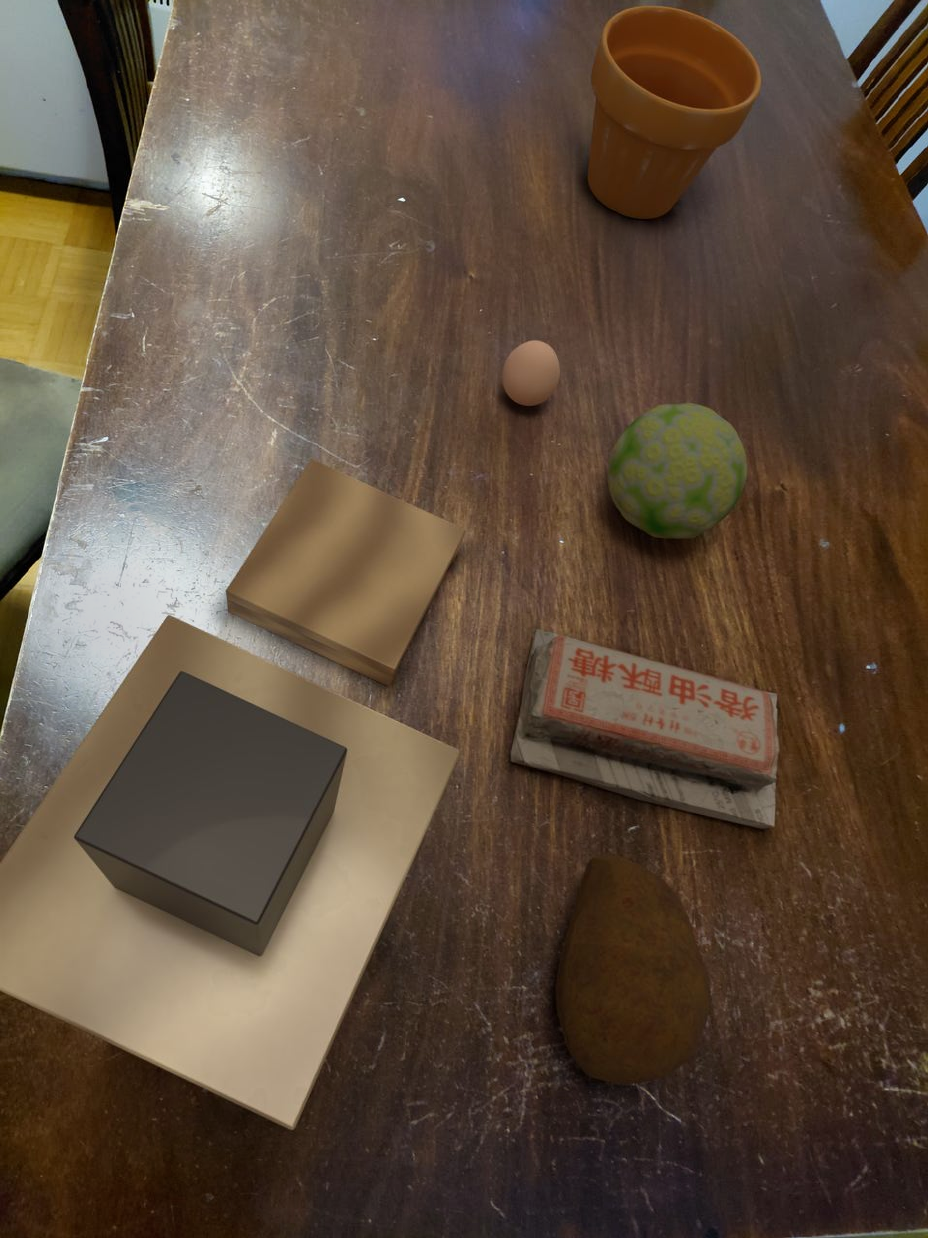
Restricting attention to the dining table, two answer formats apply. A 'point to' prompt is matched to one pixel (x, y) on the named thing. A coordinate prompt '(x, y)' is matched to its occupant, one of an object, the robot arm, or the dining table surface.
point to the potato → (630, 976)
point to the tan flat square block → (345, 571)
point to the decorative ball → (677, 470)
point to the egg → (531, 373)
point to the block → (215, 812)
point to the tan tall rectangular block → (189, 956)
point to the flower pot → (663, 105)
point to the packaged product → (649, 730)
